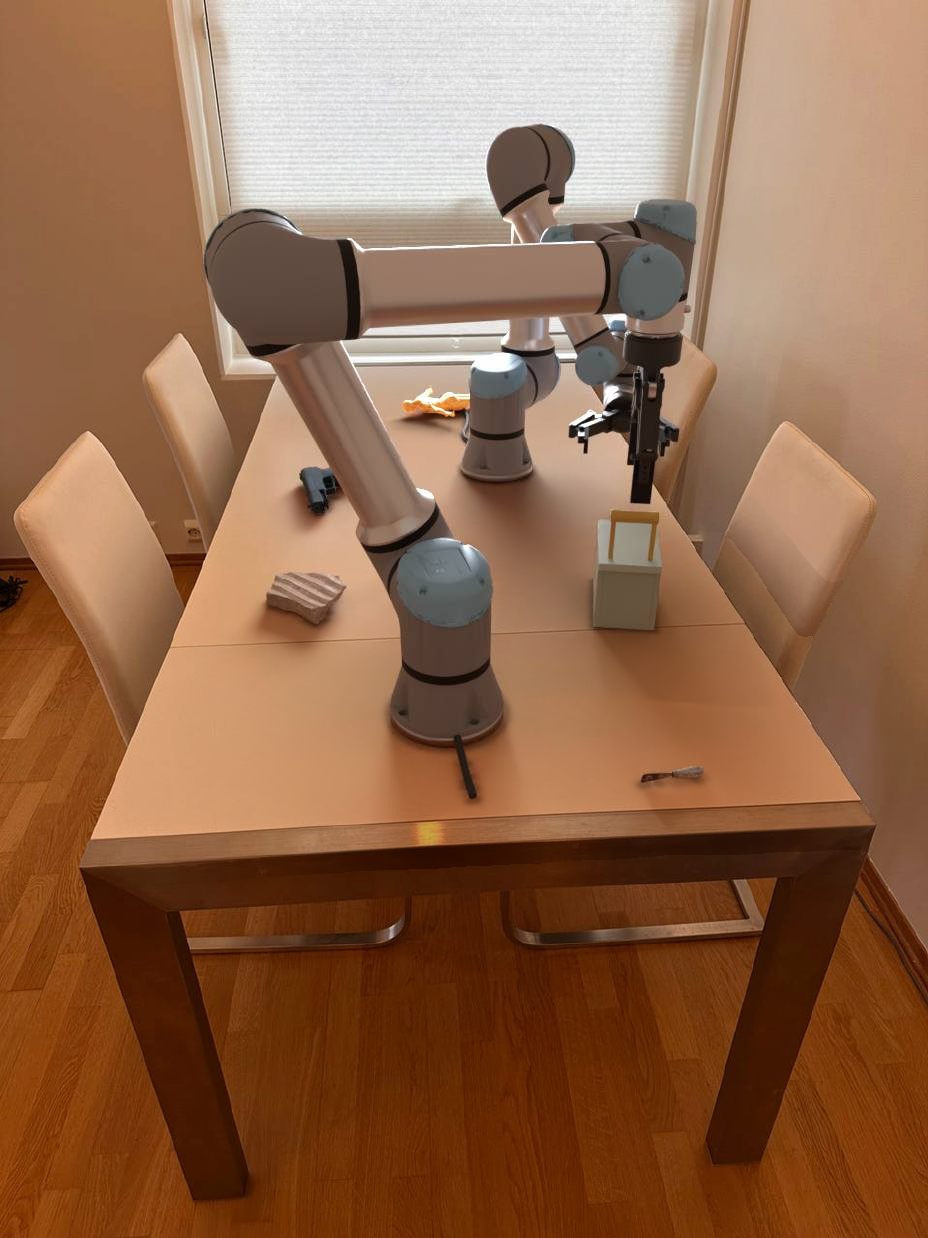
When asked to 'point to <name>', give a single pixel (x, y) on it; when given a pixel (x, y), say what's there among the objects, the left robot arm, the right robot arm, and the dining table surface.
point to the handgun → (318, 487)
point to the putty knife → (674, 774)
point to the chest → (624, 598)
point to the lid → (629, 542)
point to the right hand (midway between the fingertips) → (624, 448)
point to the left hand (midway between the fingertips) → (638, 483)
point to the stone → (305, 593)
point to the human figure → (437, 403)
